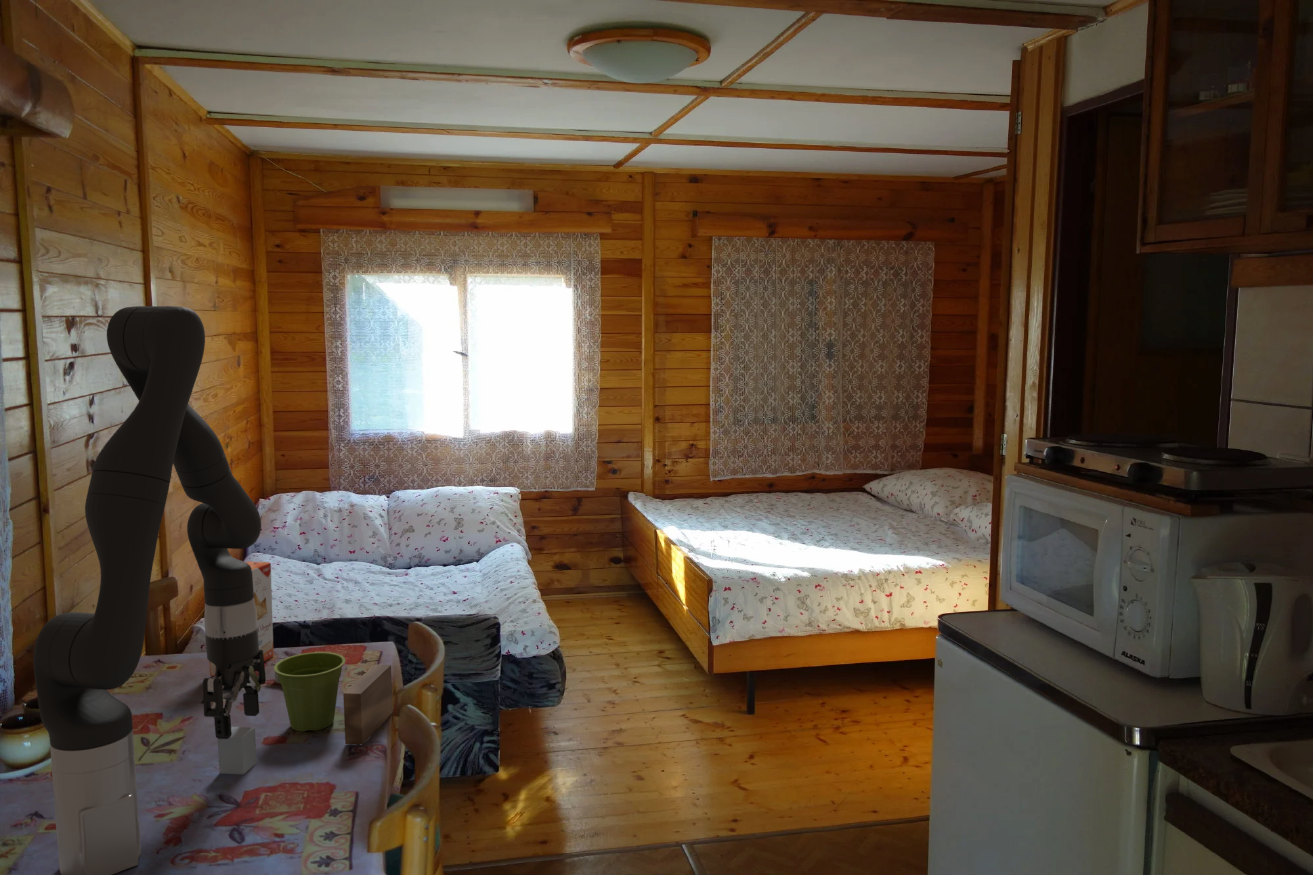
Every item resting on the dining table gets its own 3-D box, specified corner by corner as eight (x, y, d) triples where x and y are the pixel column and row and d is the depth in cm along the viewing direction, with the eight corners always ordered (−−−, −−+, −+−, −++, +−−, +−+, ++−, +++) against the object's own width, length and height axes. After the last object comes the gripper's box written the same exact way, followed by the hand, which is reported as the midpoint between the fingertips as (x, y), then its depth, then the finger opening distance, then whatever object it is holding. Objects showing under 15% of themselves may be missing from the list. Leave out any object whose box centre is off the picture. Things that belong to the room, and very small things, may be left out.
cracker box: (235, 679, 190) (229, 577, 188) (208, 677, 191) (202, 576, 189) (276, 656, 204) (271, 561, 201) (251, 654, 205) (246, 559, 203)
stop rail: (345, 744, 159) (343, 693, 158) (376, 711, 173) (375, 664, 172) (362, 745, 159) (360, 693, 158) (392, 712, 173) (391, 664, 172)
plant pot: (262, 735, 163) (259, 672, 162) (300, 709, 175) (297, 650, 173) (326, 740, 161) (323, 676, 160) (359, 713, 173) (357, 653, 171)
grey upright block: (243, 774, 149) (241, 737, 148) (219, 773, 149) (217, 737, 149) (256, 763, 153) (254, 727, 152) (233, 762, 153) (231, 726, 153)
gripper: (230, 644, 141) (237, 747, 143) (276, 614, 155) (282, 708, 157) (182, 642, 142) (190, 745, 144) (232, 613, 156) (239, 707, 158)
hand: (238, 726), depth 151 cm, fingers open, 8 cm apart
